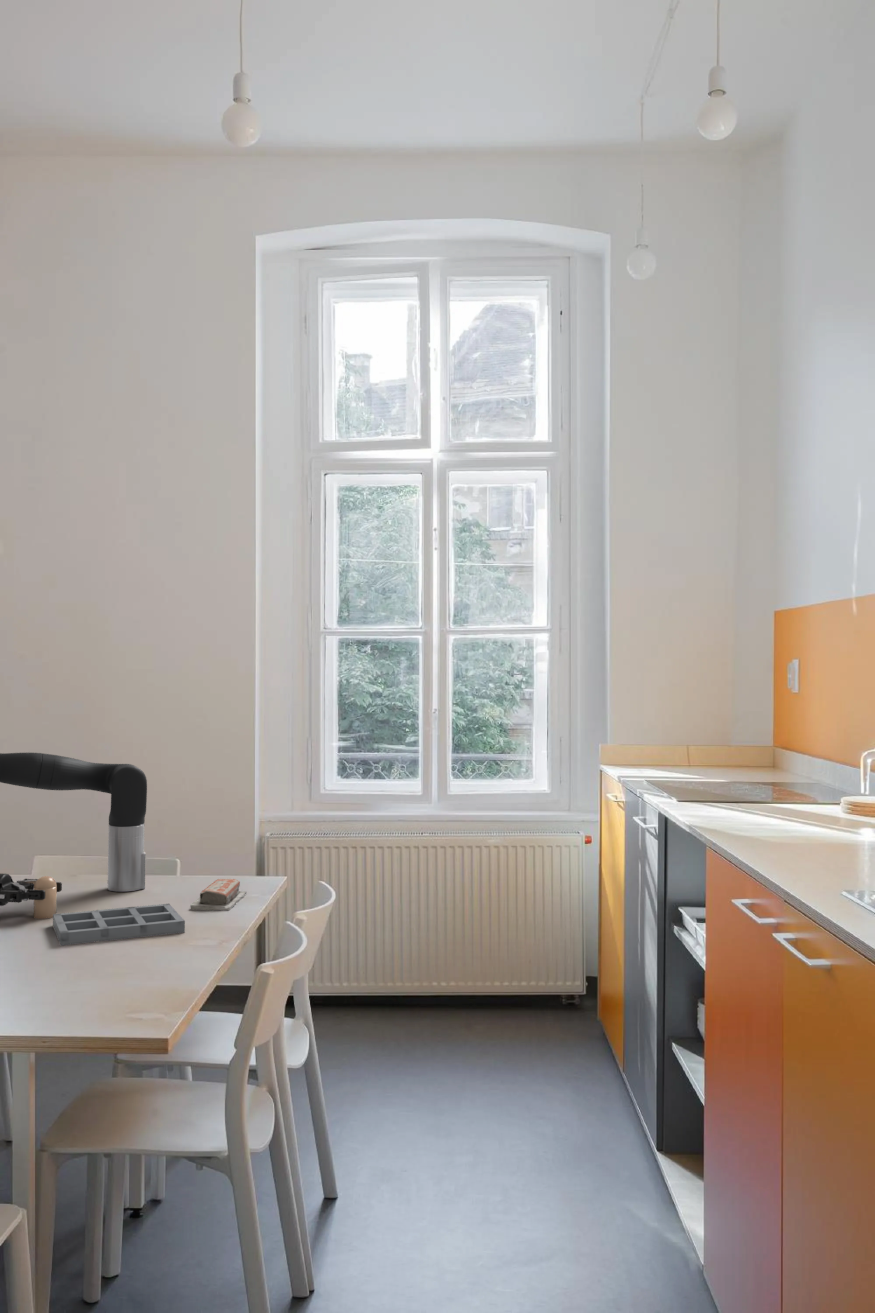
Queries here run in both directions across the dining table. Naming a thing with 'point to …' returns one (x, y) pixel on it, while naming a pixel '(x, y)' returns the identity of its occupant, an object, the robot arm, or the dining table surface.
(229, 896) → the packaged product
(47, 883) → the tan domed cylinder
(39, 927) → the dining table surface
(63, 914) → the grey compartment tray
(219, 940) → the dining table surface
